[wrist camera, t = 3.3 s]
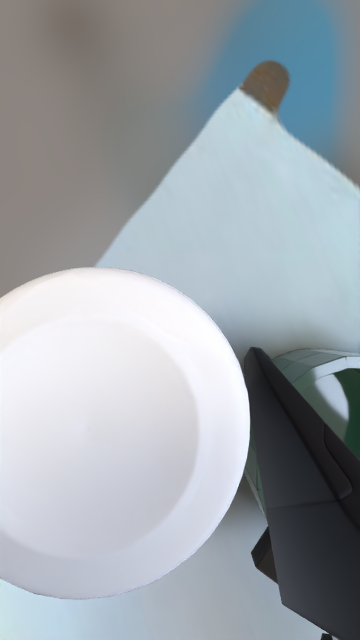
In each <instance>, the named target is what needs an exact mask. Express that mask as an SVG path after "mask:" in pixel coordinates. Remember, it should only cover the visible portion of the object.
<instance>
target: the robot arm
mask: <svg viewBox="0 0 360 640" xmlns="http://www.w3.org/2000/svg"><path fill="white" fill-rule="evenodd" d="M244 369H245V385H246V389H247V392H248V399H249V412H250V420H251V426H252V432H253V438H254V444H255V449H256V455H257V461H258V467H259V473H260V479H261V485H262V490H263V496H264V502H265V508H266V514H267V520H268V526H269V532H270V538H271V544H272V550H273V555H274V561H275V567H276V573H277V579H278V585H279V591H280V596H281V601H282V604H283V605H284V606H286V607H287V608H289V609H291V610H292V611H294V612H295V613H297V614H299V615H300V616H302V617H303V618H305V619H307V620H308V621H310V622H311V623H313V624H315V625H316V626H318V627H319V628H321V629H323V630H324V631H326V632H327V633H329V634H324V633H322V637H321V640H360V459H359V458H358V457H357V456H356V455H355V454H354V453H353V452H352V451H351V450H350V449H349V448H348V447H347V446H346V445H345V443H344V442H343V441H342V440H341V439H340V438H339V437H338V436H337V435H336V433H335V432H334V431H333V430H332V429H331V428H330V427H329V425H328V424H327V423H325V422H324V420H323V419H322V418H321V416H320V415H319V414H318V413H317V412H316V411H315V410H314V408H313V407H312V406H311V405H310V404H309V403H308V402H307V400H306V399H305V398H304V397H303V396H302V395H301V394H300V392H299V391H298V390H297V389H296V388H295V387H294V386H293V384H292V383H291V382H290V381H289V380H288V379H287V378H286V376H285V375H284V374H283V373H282V372H281V371H280V370H279V368H278V367H277V366H276V365H275V364H274V363H273V362H272V360H271V359H270V358H269V357H268V356H267V355H266V354H265V352H264V351H263V350H262V349H261V348H257V347H251V348H250V349H249V351H248V353H247V354H246V356H245V359H244Z"/></svg>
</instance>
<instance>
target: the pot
mask: <svg viewBox="0 0 360 640" xmlns="http://www.w3.org/2000/svg"><path fill="white" fill-rule="evenodd" d="M272 362H273V363H274V364H275V365H276V366H277V367H278V368H279V370H280V371H281V372H282V373H283V374H284V375H285V376H286V378H287V379H288V380H289V381H290V382H291V383H292V384H293V386H294V387H295V388H296V389H297V390H298V391H299V392H300V394H301V395H302V396H303V397H304V398H305V399H306V400H307V402H308V403H309V404H310V405H311V406H312V407H313V408H314V410H315V411H316V412H317V413H318V414H319V415H320V416H321V418H322V419H323V420H324V422H325V423H327V424H328V425H329V427H330V428H331V429H332V430H333V431H334V432H335V433H336V435H337V436H338V437H339V438H340V439H341V440H342V441H343V442H344V443H345V445H346V446H347V447H348V448H349V449H350V450H351V451H352V452H353V453H354V454H355V455H356V456H357V457H358V458H359V459H360V353H352V352H344V351H336V350H328V349H324V350H321V349H301V350H295V351H291V352H288V353H285V354H282V355H280V356H278V357H276V358H274V359H272ZM244 474H245V477H246V479H247V481H248V483H249V485H250V487H251V490H252V492H253V494H254V496H255V498H256V500H257V502H258V505H259V507H260V509H261V511H262V513H263V515H264V517H265V520H266V522H267V524H268V520H267V514H266V508H265V502H264V496H263V490H262V485H261V479H260V473H259V467H258V461H257V455H256V449H255V444H254V438H253V432H252V426H251V420H250V440H249V447H248V453H247V459H246V463H245V467H244Z"/></svg>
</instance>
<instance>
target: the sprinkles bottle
mask: <svg viewBox="0 0 360 640" xmlns="http://www.w3.org/2000/svg"><path fill="white" fill-rule="evenodd" d="M249 440H250V412H249V399H248V392H247V389H246V385H245V382H244V377H243V374H242V371H241V368H240V365H239V363H238V360H237V358H236V356H235V354H234V351H233V349H232V348H231V346H230V344H229V342H228V340H227V339H226V338H225V336H224V335H223V333H222V332H221V330H220V329H219V327H218V326H217V325H216V324H215V322H214V321H213V320H212V319H211V318H210V317H209V315H208V314H207V313H206V312H205V311H204V310H203V309H202V308H200V307H199V306H198V305H197V304H196V303H195V302H194V301H192V300H191V299H190V298H189V297H187V296H186V295H184V294H183V293H181V292H180V291H178V290H176V289H175V288H173V287H172V286H170V285H168V284H166V283H164V282H162V281H160V280H157V279H155V278H152V277H150V276H147V275H144V274H141V273H137V272H134V271H130V270H124V269H117V268H110V267H93V268H75V269H68V270H64V271H60V272H55V273H52V274H48V275H45V276H42V277H40V278H37V279H34V280H32V281H29V282H27V283H25V284H23V285H21V286H19V287H18V288H16V289H14V290H12V291H10V292H9V293H7V294H6V295H4V296H3V297H2V298H0V578H1V579H3V580H5V581H7V582H9V583H11V584H13V585H15V586H17V587H20V588H22V589H24V590H27V591H29V592H32V593H34V594H38V595H44V596H49V597H55V598H60V599H92V598H101V597H109V596H113V595H117V594H121V593H125V592H129V591H131V590H134V589H136V588H139V587H142V586H144V585H147V584H150V583H152V582H154V581H156V580H158V579H159V578H161V577H163V576H164V575H166V574H168V573H169V572H170V571H172V570H173V569H174V568H176V567H177V566H178V565H180V564H181V563H182V562H184V561H185V560H186V559H188V558H189V557H190V556H192V555H193V554H194V553H195V552H196V551H197V550H198V549H199V548H200V547H201V546H202V545H203V544H204V543H205V542H206V540H207V539H208V538H209V537H210V536H211V534H212V533H213V532H214V530H215V529H216V527H217V526H218V524H219V523H220V521H221V520H222V518H223V517H224V515H225V513H226V512H227V510H228V508H229V507H230V505H231V503H232V500H233V498H234V496H235V494H236V491H237V488H238V486H239V483H240V480H241V478H242V475H243V471H244V467H245V463H246V459H247V453H248V447H249Z"/></svg>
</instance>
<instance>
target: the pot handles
mask: <svg viewBox="0 0 360 640" xmlns="http://www.w3.org/2000/svg"><path fill="white" fill-rule="evenodd" d="M251 555H252V558H253V561H254V564H255V567H256V568H257V569H258V570H260V571H261V572H262V573H264V574H265V575H266V576H268V577H269V578H270V579H272V580H273V581H274V582H276V583H277V584H278V579H277V573H276V567H275V561H274V555H273V550H272V544H271V538H270V532H269V526H268V527H267V528H266V530H265V532H264V533H263V535H262V536H261V538H260V539H259V541H258V542H257V544H256V545H255V547H254V549H253V550H252V552H251Z"/></svg>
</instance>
